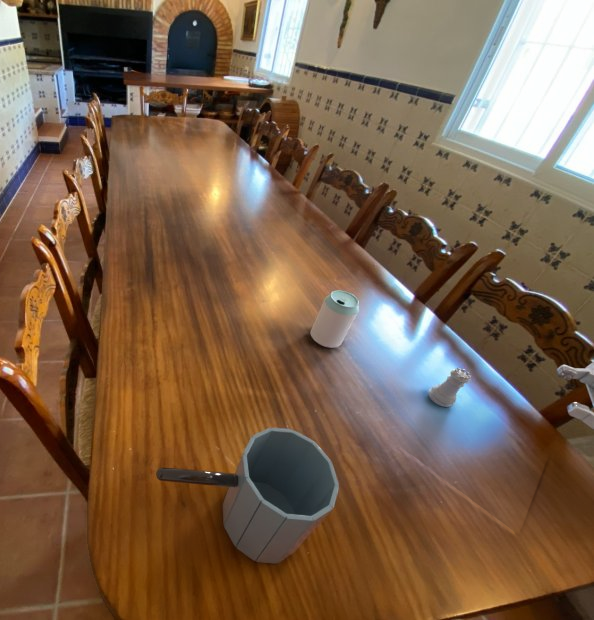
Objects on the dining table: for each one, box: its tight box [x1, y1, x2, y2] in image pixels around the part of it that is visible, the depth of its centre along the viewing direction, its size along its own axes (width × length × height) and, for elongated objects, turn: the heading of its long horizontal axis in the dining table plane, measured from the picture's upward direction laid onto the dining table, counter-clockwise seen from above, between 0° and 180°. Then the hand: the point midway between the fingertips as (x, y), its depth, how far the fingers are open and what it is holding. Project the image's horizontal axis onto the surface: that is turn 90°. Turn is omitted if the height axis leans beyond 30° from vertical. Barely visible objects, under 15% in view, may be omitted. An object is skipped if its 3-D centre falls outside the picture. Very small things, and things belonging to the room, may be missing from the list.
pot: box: [155, 427, 340, 565], centre depth 47 cm, size 21×11×15 cm, turn 87°
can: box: [310, 290, 360, 349], centre depth 79 cm, size 7×7×12 cm
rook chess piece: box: [428, 367, 472, 408], centre depth 69 cm, size 4×4×8 cm
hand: (564, 387), depth 59 cm, fingers open, 8 cm apart
